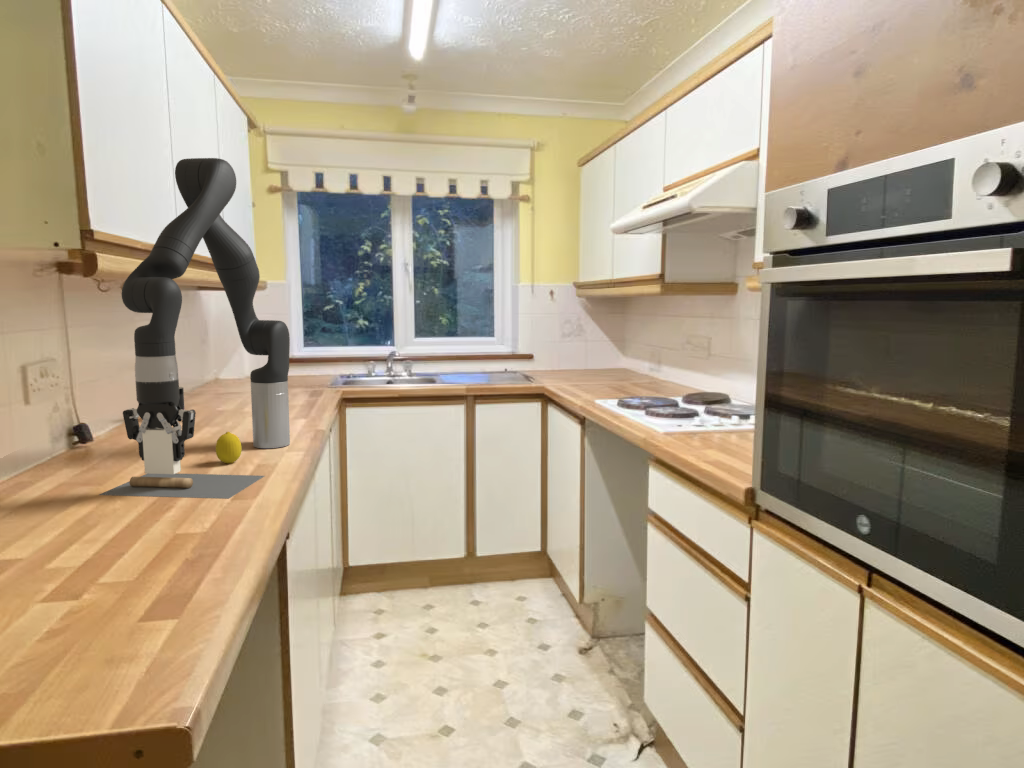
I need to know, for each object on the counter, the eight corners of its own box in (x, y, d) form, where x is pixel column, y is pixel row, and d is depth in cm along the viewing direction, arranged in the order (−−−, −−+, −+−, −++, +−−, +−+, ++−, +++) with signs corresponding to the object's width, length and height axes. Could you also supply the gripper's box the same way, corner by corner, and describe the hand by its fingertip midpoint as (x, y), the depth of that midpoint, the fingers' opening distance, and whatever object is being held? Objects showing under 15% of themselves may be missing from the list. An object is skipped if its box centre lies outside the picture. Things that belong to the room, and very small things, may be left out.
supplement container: (186, 421, 199) (184, 388, 197) (161, 423, 195) (159, 390, 194) (184, 418, 205) (182, 386, 203) (160, 419, 201) (159, 387, 200)
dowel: (136, 484, 129) (135, 475, 129) (193, 486, 128) (192, 476, 128) (129, 487, 127) (129, 478, 127) (187, 489, 127) (187, 479, 126)
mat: (149, 475, 138) (149, 472, 138) (265, 478, 137) (265, 475, 137) (98, 497, 122) (98, 494, 122) (228, 501, 121) (228, 498, 121)
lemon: (214, 468, 144) (212, 434, 143) (218, 462, 149) (217, 429, 148) (240, 467, 146) (238, 433, 145) (243, 461, 151) (242, 428, 150)
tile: (152, 470, 129) (149, 427, 128) (180, 470, 129) (178, 427, 128) (144, 473, 127) (142, 429, 126) (173, 474, 127) (171, 430, 126)
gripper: (202, 376, 129) (206, 456, 131) (134, 375, 130) (139, 454, 132) (181, 381, 122) (186, 465, 124) (109, 379, 122) (115, 463, 124)
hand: (162, 459), depth 128 cm, fingers closed on tile, 6 cm apart
